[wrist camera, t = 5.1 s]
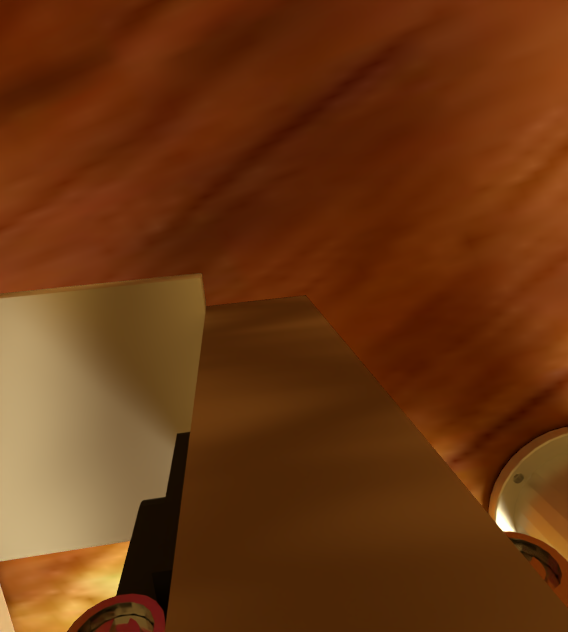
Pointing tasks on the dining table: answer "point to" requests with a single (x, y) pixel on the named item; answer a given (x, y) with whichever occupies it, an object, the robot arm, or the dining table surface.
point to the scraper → (244, 466)
